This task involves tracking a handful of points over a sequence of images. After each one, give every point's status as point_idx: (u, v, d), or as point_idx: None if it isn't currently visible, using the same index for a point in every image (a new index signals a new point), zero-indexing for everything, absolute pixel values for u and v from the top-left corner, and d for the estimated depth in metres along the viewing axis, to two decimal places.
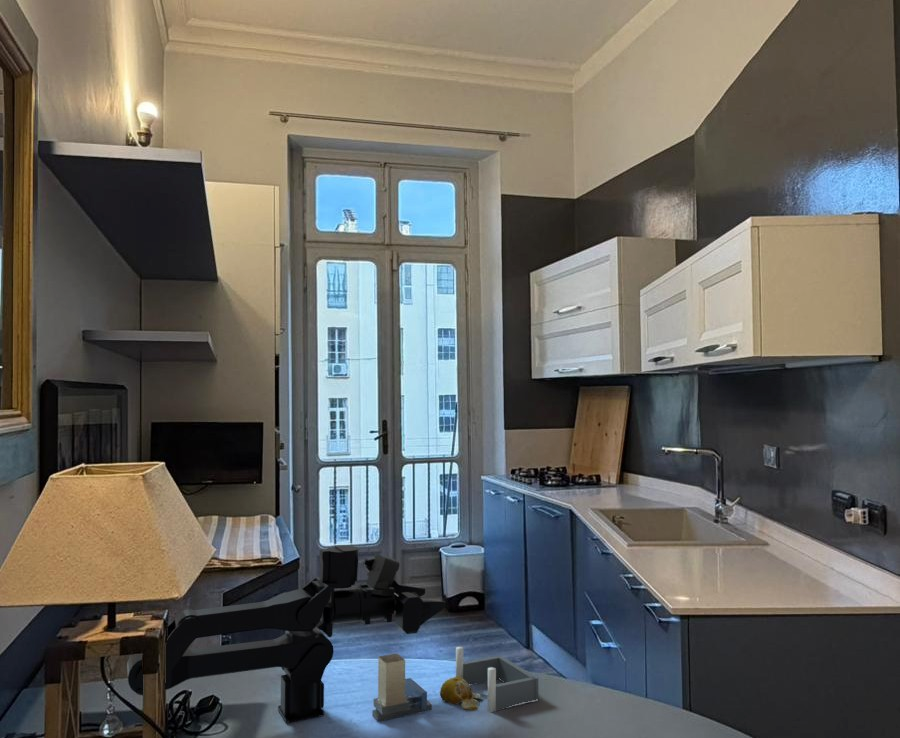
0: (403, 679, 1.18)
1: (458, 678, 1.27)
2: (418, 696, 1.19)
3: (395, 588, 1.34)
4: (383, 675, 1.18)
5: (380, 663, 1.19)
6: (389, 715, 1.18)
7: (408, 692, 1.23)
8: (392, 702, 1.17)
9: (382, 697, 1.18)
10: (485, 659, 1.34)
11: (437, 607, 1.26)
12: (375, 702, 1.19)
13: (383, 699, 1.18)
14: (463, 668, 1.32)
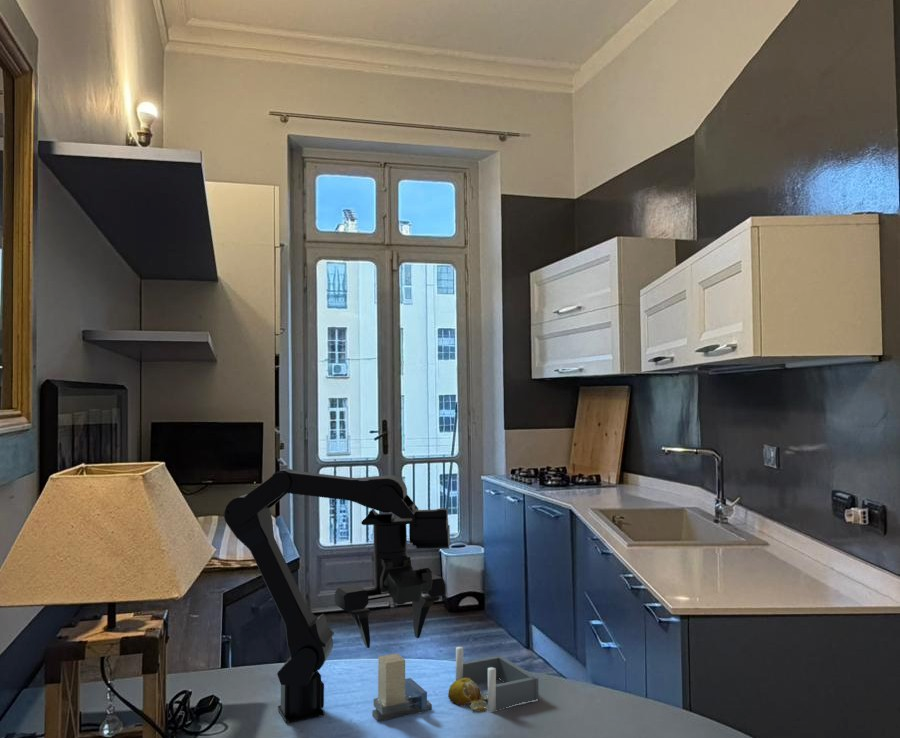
0: (403, 679, 1.18)
1: (466, 679, 1.26)
2: (418, 696, 1.19)
3: (420, 603, 1.22)
4: (383, 675, 1.18)
5: (380, 663, 1.19)
6: (389, 715, 1.18)
7: (408, 692, 1.23)
8: (392, 702, 1.17)
9: (382, 697, 1.18)
10: (485, 659, 1.34)
11: (362, 636, 1.18)
12: (375, 702, 1.19)
13: (383, 699, 1.18)
14: (463, 668, 1.32)
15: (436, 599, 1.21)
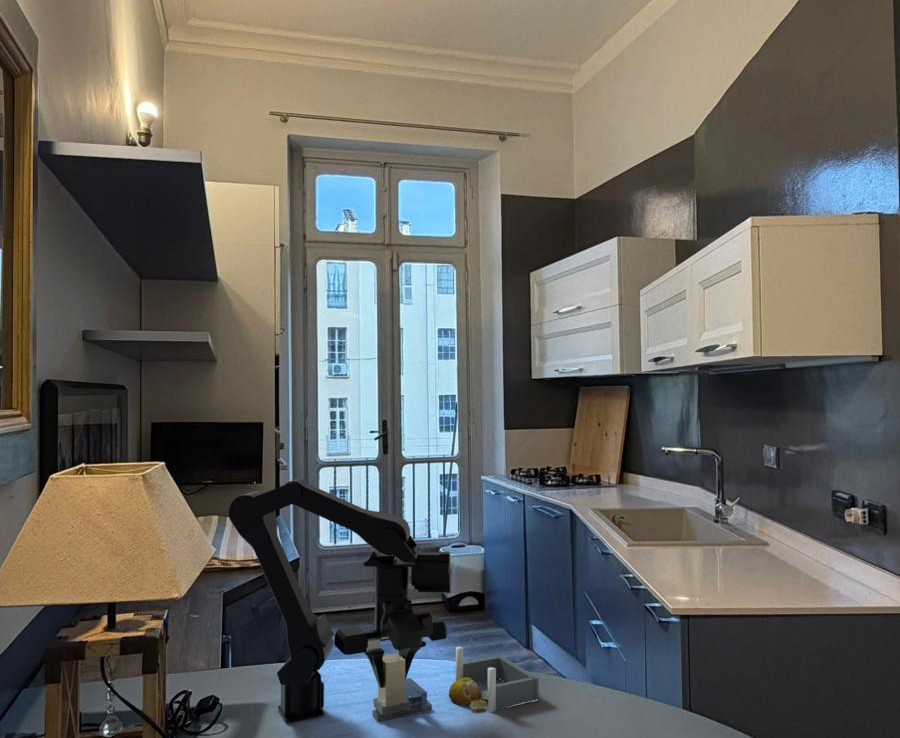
0: (403, 679, 1.18)
1: (467, 679, 1.26)
2: (418, 696, 1.19)
3: (406, 648, 1.20)
4: (383, 675, 1.18)
5: None
6: (389, 715, 1.18)
7: (408, 692, 1.23)
8: (392, 702, 1.17)
9: (382, 697, 1.18)
10: (485, 659, 1.34)
11: (376, 675, 1.18)
12: (375, 702, 1.19)
13: (383, 699, 1.18)
14: (463, 668, 1.32)
15: (422, 645, 1.19)
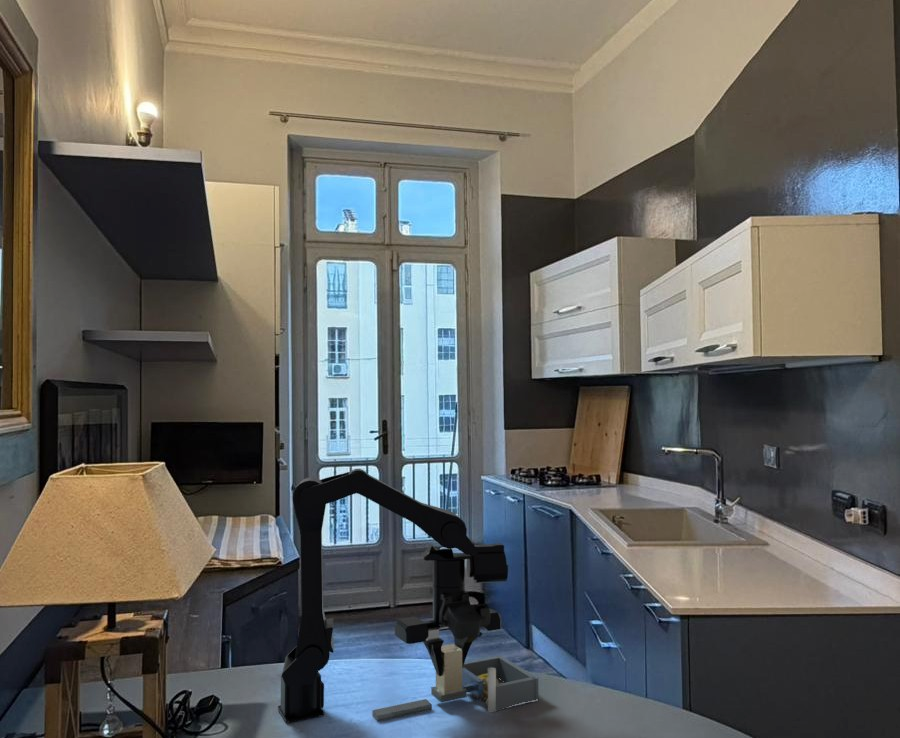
0: (460, 668, 1.23)
1: None
2: (475, 684, 1.24)
3: None
4: None
5: None
6: (389, 715, 1.18)
7: (463, 681, 1.28)
8: (450, 690, 1.22)
9: (440, 685, 1.23)
10: (485, 659, 1.34)
11: (435, 664, 1.23)
12: (433, 690, 1.24)
13: (441, 687, 1.23)
14: None
15: (478, 635, 1.24)
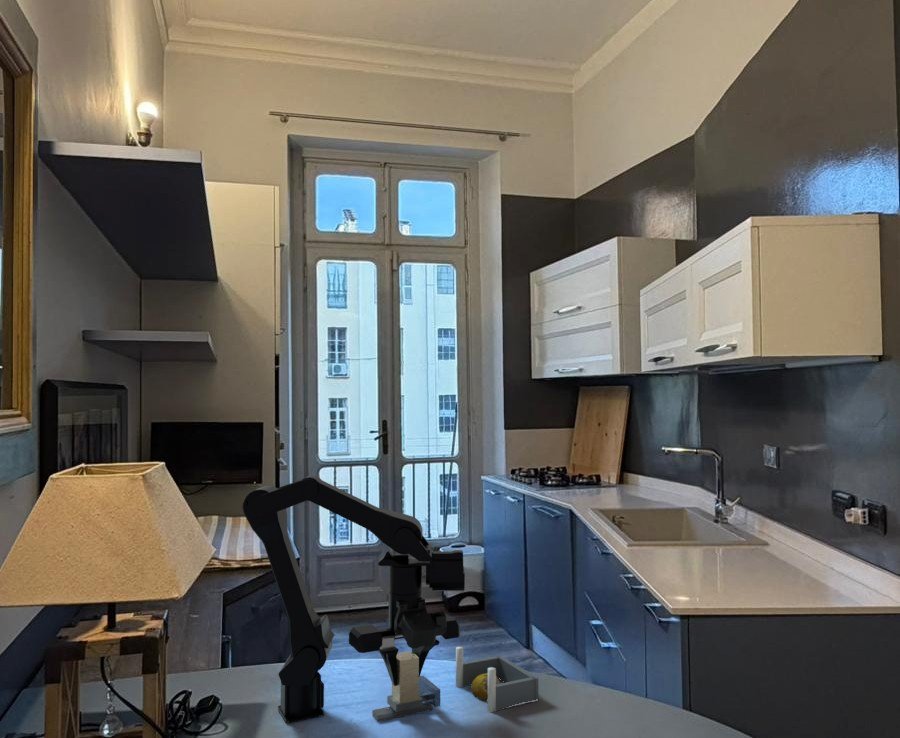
0: (417, 676, 1.20)
1: None
2: (432, 693, 1.20)
3: (420, 646, 1.21)
4: None
5: None
6: (389, 715, 1.18)
7: (421, 690, 1.24)
8: (406, 699, 1.18)
9: (396, 694, 1.19)
10: (485, 659, 1.34)
11: (390, 673, 1.19)
12: (389, 699, 1.20)
13: (397, 696, 1.19)
14: (463, 668, 1.32)
15: (436, 644, 1.20)
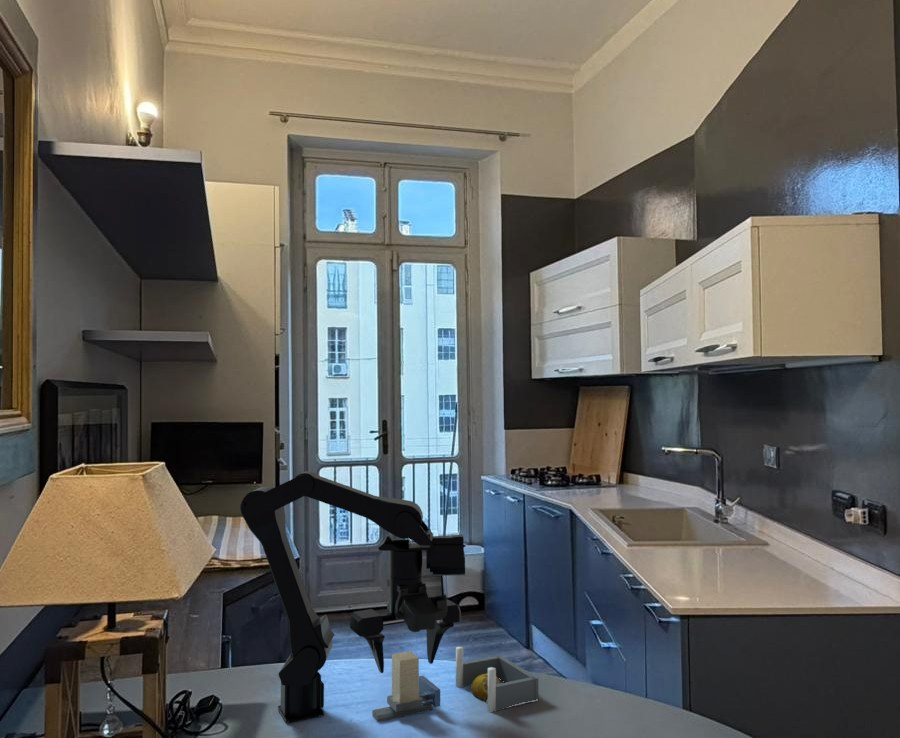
0: (417, 676, 1.20)
1: None
2: (432, 693, 1.20)
3: (434, 629, 1.22)
4: (396, 673, 1.19)
5: (394, 661, 1.21)
6: (389, 715, 1.18)
7: (421, 690, 1.24)
8: (406, 699, 1.18)
9: (396, 694, 1.19)
10: (485, 659, 1.34)
11: (376, 661, 1.18)
12: (389, 699, 1.20)
13: (397, 696, 1.19)
14: (463, 668, 1.32)
15: (450, 626, 1.22)
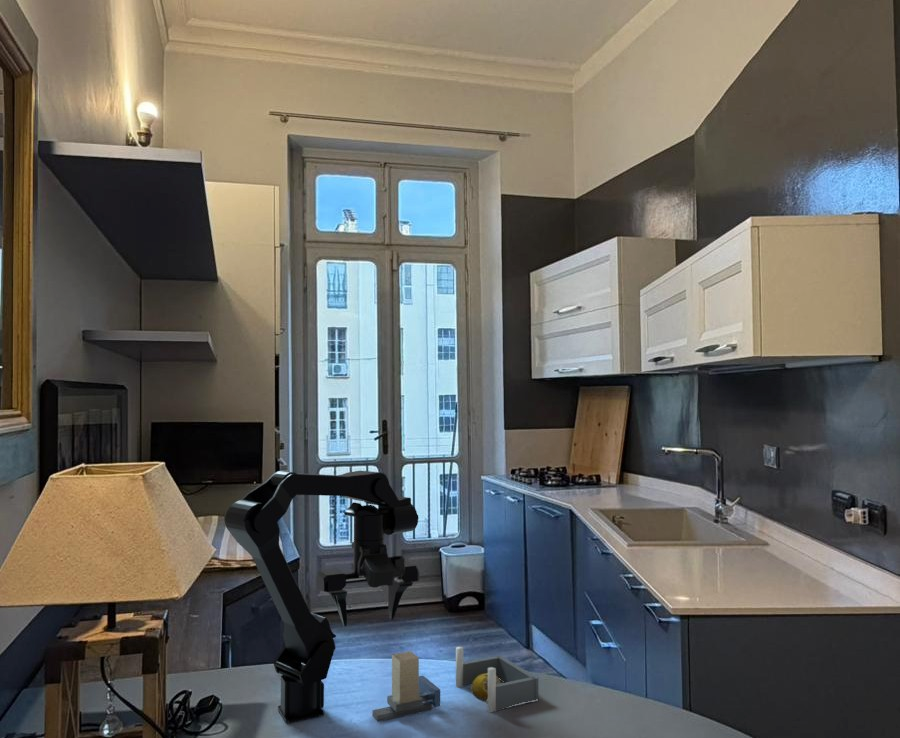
0: (417, 676, 1.20)
1: None
2: (432, 693, 1.20)
3: (395, 587, 1.33)
4: (396, 673, 1.19)
5: (394, 661, 1.21)
6: (389, 715, 1.18)
7: (421, 690, 1.24)
8: (406, 699, 1.18)
9: (396, 694, 1.19)
10: (485, 659, 1.34)
11: (340, 615, 1.29)
12: (389, 699, 1.20)
13: (397, 696, 1.19)
14: (463, 668, 1.32)
15: (409, 585, 1.32)
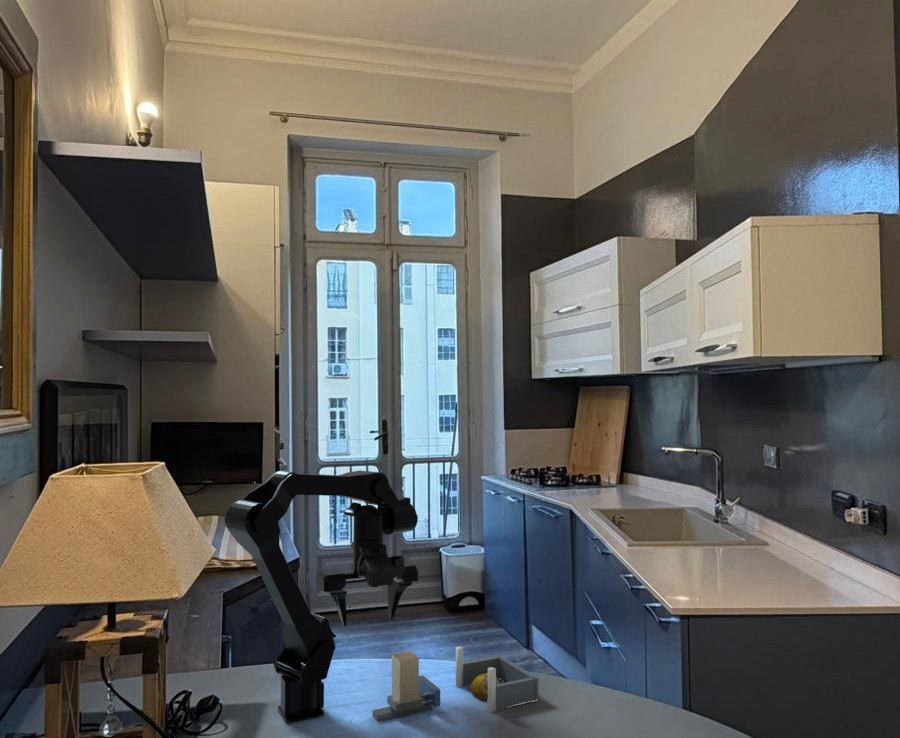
0: (417, 676, 1.20)
1: None
2: (432, 693, 1.20)
3: (394, 587, 1.33)
4: (396, 673, 1.19)
5: (394, 661, 1.21)
6: (389, 715, 1.18)
7: (421, 690, 1.24)
8: (406, 699, 1.18)
9: (396, 694, 1.19)
10: (485, 659, 1.34)
11: (340, 615, 1.29)
12: (389, 699, 1.20)
13: (397, 696, 1.19)
14: (463, 668, 1.32)
15: (409, 584, 1.32)
